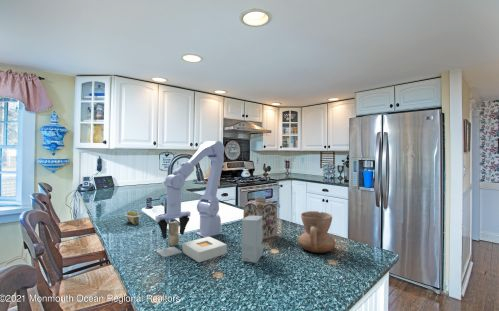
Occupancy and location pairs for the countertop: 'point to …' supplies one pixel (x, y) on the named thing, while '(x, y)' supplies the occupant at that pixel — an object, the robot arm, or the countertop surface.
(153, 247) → the countertop surface
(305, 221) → the ceramic jug
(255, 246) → the skincare box
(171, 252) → the mat
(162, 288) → the countertop surface
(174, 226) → the wooden square post
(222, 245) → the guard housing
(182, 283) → the countertop surface
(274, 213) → the decorative jar
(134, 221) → the gold pronged connector
